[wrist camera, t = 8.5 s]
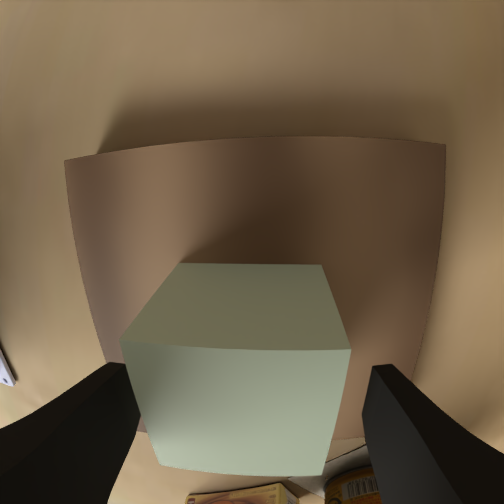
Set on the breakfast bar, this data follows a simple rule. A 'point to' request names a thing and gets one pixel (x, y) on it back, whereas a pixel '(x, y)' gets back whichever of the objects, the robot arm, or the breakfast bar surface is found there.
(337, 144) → the walnut block
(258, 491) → the candy box
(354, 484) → the condiment
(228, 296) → the sage cube
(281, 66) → the breakfast bar surface
